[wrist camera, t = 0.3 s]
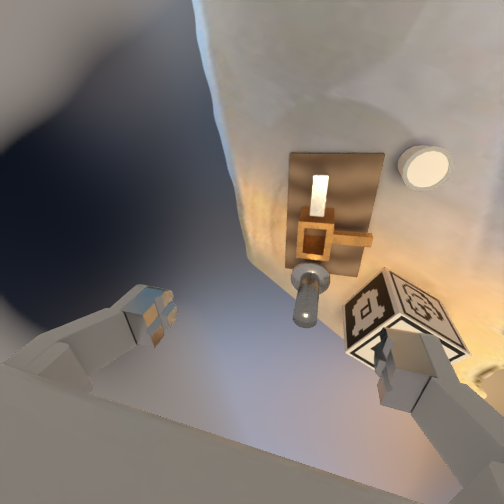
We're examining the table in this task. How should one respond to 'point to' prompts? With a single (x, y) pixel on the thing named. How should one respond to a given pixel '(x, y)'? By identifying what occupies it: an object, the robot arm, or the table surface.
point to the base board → (334, 202)
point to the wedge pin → (319, 194)
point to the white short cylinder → (425, 167)
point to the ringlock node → (317, 261)
